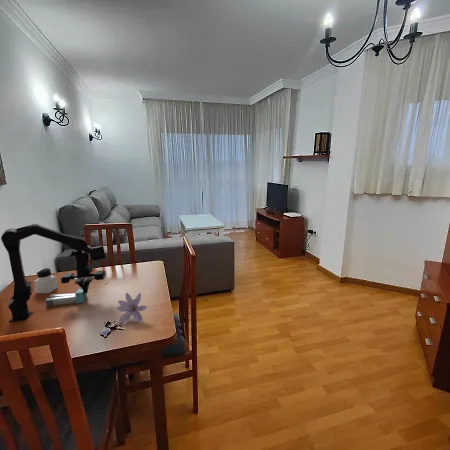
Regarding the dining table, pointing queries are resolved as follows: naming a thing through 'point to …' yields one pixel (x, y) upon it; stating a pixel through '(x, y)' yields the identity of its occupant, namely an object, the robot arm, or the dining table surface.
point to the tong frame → (62, 300)
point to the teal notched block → (80, 296)
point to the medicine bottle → (45, 281)
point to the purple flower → (131, 309)
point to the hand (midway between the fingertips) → (86, 292)
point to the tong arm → (60, 295)
